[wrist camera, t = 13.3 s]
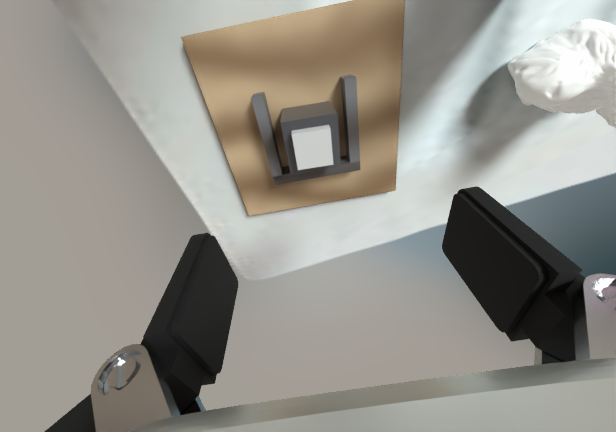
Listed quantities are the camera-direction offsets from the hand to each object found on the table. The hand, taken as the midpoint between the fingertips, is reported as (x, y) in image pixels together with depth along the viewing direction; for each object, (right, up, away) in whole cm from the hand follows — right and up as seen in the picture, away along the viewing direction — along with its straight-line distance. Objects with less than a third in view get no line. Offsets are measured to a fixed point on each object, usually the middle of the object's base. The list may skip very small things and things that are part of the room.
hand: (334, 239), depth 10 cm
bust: (+22, +15, +14) cm, 30 cm away
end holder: (-1, +10, +15) cm, 19 cm away
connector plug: (-1, +10, +15) cm, 18 cm away
